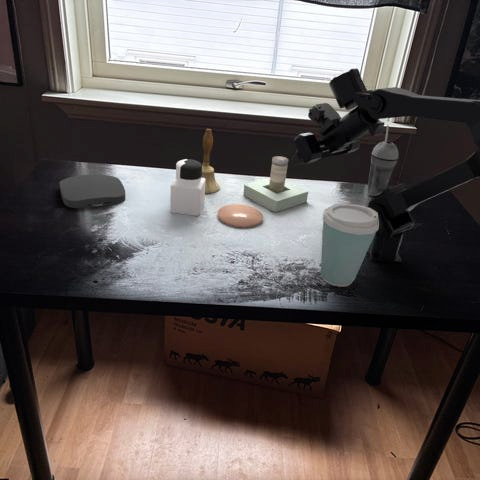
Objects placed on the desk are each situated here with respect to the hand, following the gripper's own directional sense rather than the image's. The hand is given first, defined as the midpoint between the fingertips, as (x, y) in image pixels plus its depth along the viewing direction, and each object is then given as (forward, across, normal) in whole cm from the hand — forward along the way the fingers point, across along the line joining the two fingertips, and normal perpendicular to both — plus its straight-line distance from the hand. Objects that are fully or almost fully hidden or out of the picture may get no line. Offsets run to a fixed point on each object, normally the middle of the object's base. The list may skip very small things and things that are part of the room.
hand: (305, 159), depth 114 cm
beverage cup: (+6, -27, +13) cm, 31 cm away
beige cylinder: (+15, 0, +4) cm, 16 cm away
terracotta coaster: (+13, +16, +6) cm, 21 cm away
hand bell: (+26, +12, -7) cm, 29 cm away
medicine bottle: (+20, +24, -1) cm, 31 cm away
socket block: (+15, 0, +4) cm, 16 cm away
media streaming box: (+33, +39, -14) cm, 53 cm away
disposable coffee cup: (-9, +16, +28) cm, 34 cm away
